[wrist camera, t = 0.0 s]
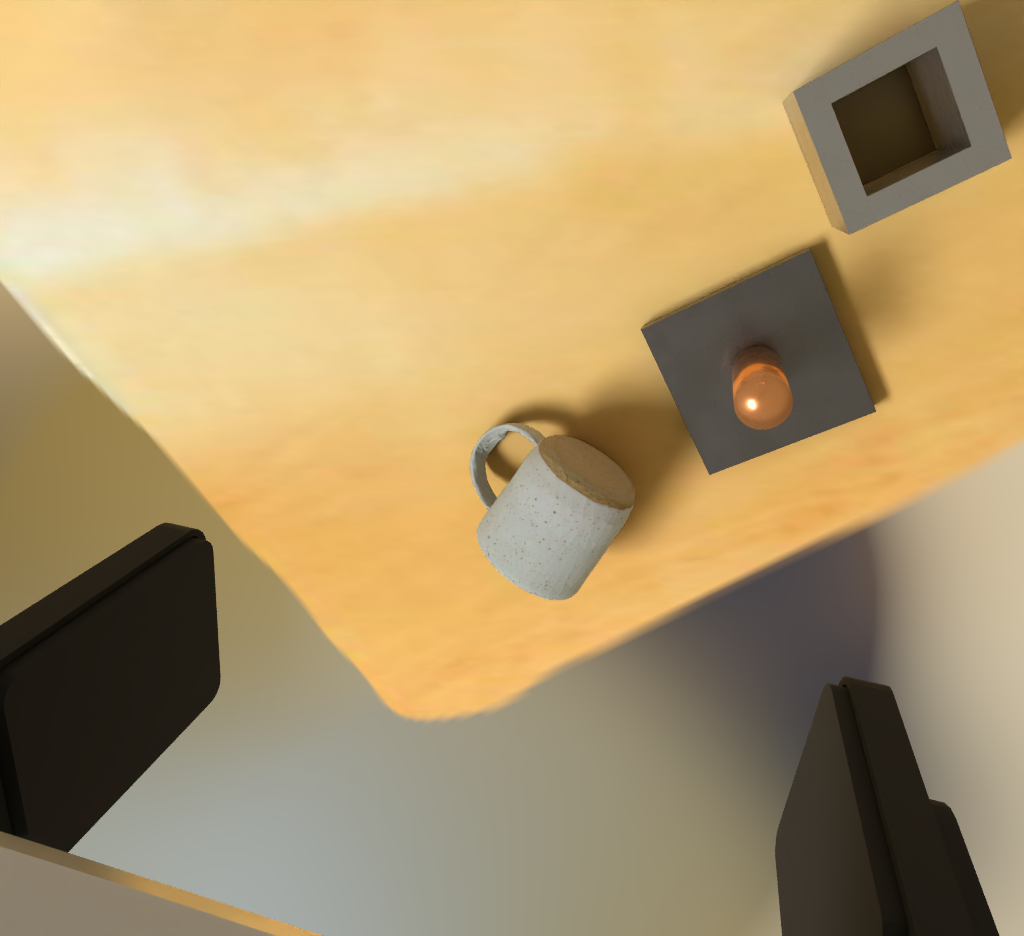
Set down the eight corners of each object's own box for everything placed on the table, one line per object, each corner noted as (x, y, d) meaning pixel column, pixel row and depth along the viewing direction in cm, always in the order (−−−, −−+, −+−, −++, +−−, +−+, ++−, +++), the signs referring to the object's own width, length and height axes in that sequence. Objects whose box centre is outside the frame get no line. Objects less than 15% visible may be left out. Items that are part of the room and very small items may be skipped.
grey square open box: (782, 102, 40) (792, 91, 34) (922, 25, 37) (958, 0, 32) (832, 226, 41) (849, 234, 36) (970, 160, 39) (1011, 158, 33)
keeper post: (642, 326, 46) (628, 355, 38) (808, 247, 42) (827, 263, 35) (709, 469, 48) (708, 522, 41) (873, 406, 44) (903, 452, 37)
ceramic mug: (650, 474, 49) (637, 522, 42) (585, 565, 52) (563, 623, 46) (511, 387, 49) (476, 420, 42) (456, 483, 53) (415, 528, 46)
